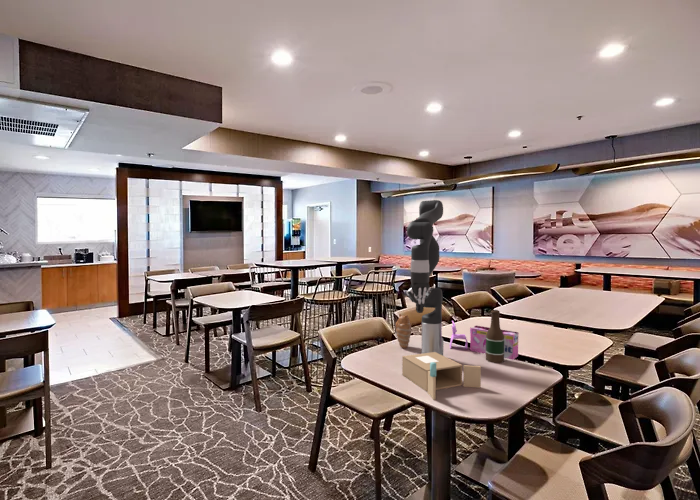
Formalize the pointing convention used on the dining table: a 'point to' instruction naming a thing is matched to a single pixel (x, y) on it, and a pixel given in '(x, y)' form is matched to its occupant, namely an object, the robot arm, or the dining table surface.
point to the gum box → (480, 341)
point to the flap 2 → (472, 376)
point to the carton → (420, 365)
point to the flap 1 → (432, 380)
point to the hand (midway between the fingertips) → (419, 312)
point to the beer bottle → (495, 340)
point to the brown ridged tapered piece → (403, 330)
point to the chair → (457, 335)
